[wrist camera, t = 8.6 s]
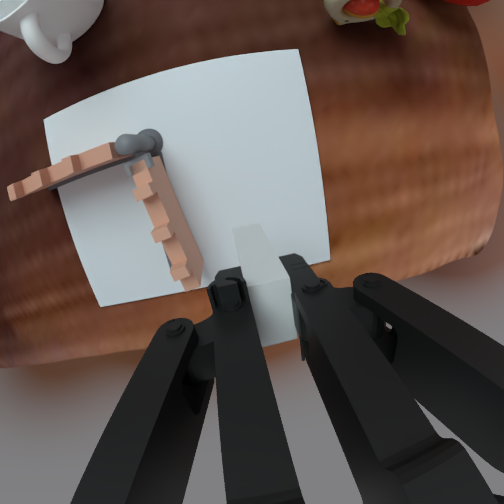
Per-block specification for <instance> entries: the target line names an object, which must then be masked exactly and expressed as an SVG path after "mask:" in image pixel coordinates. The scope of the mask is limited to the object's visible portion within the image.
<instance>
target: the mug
mask: <svg viewBox="0 0 504 504" xmlns="http://www.w3.org/2000/svg"><path fill="white" fill-rule="evenodd" d="M103 4H104V0H0V31H2V32H5V33H8V34H10V35H13V36H16V37H18V38H21V39H24V40H25V42H26V43H27V45H28V46H29V48H30V49H31V50H32V51H33V52H34V53H35V54H36V55H37V56H38V57H40V58H41V59H43V60H44V61H46V62H49V63H52V64H59V63H62V62H64V61H65V60H67V59H68V57H69V56H70V54H71V51H72V42H73V41H75V40H76V39H78V38H79V37H80V36H82V35H83V34H84V33H85V32H86V31H87V30H88V29H89V28H90V27H91V26H92V25H93V23H94V22H95V21H96V19H97V18H98V16H99V14H100V12H101V10H102V7H103Z"/></svg>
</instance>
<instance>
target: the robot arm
mask: <svg viewBox="0 0 504 504" xmlns="http://www.w3.org/2000/svg"><path fill="white" fill-rule="evenodd" d="M232 230H233V235H234V240H235V244H236V249H237V254H238V258H239V263H240V266H238V267H233V268H229V269H224V270H220V271H218V273H217V274H216V276H215V280H214V281H213V282H211V283H210V284H209V285H208V287H207V293H208V296H209V299H210V303H211V306H212V309H213V314H212V315H211V316H210V317H209V318H207V319H206V320H204V321H202V322H200V323H197V324H195V325H194V324H193V322H192V321H191V320H189V319H187V318H177V319H172V320H169V321H167V322H166V323H164V324H163V325H161V326H160V328H159V329H158V330H157V332H156V334H155V335H154V337H153V339H152V341H151V342H150V344H149V346H148V348H147V350H146V352H145V353H144V355H143V357H142V359H141V361H140V363H139V364H138V366H137V368H136V370H135V372H134V374H133V376H132V377H131V379H130V381H129V383H128V385H127V387H126V389H125V391H124V393H123V394H122V396H121V398H120V400H119V402H118V404H117V406H116V408H115V410H114V412H113V414H112V416H111V418H110V420H109V422H108V424H107V426H106V428H105V430H104V432H103V434H102V436H101V438H100V440H99V442H98V444H97V446H96V448H95V450H94V453H93V455H92V457H91V459H90V461H89V463H88V466H87V467H86V470H85V472H84V474H83V476H82V478H81V481H80V483H79V485H78V487H77V490H76V492H75V494H74V496H73V499H72V501H71V504H182V503H183V499H184V495H185V491H186V487H187V484H188V480H189V476H190V472H191V468H192V464H193V460H194V457H195V453H196V449H197V446H198V441H199V438H200V434H201V430H202V427H203V423H204V419H205V415H206V411H207V408H208V404H209V400H210V396H211V392H212V389H213V385H214V377H216V389H217V403H218V417H219V429H220V441H221V453H222V463H223V473H224V482H225V491H226V500H227V504H305V502H304V500H303V497H302V493H301V490H300V487H299V483H298V479H297V476H296V472H295V469H294V465H293V461H292V458H291V454H290V450H289V447H288V443H287V440H286V436H285V432H284V428H283V425H282V421H281V417H280V414H279V410H278V406H277V402H276V398H275V395H274V391H273V387H272V384H271V380H270V376H269V372H268V368H267V364H266V360H265V357H264V353H263V349H262V347H264V346H269V345H273V344H277V343H281V342H285V341H289V340H293V339H296V338H297V332H298V334H299V337H300V346H301V356H302V361H304V360H305V358H306V361H307V364H308V366H309V368H310V371H311V373H312V376H313V378H314V381H315V383H316V385H317V388H318V390H319V393H320V395H321V398H322V400H323V403H324V405H325V407H326V410H327V412H328V415H329V417H330V419H331V422H332V425H333V427H334V429H335V432H336V434H337V437H338V439H339V442H340V444H341V447H342V449H343V452H344V454H345V457H346V459H347V462H348V464H349V467H350V469H351V472H352V474H353V477H354V479H355V482H356V484H357V487H358V489H359V492H360V494H361V497H362V500H363V504H504V496H500V495H496V494H493V493H492V492H491V490H490V488H489V486H488V485H487V483H486V481H485V480H484V478H483V476H482V475H481V473H480V472H479V470H478V468H477V467H476V465H475V463H474V462H473V460H472V459H471V457H470V456H469V454H468V453H467V451H466V449H465V448H464V447H463V446H462V445H461V444H460V442H458V441H457V440H455V439H453V438H442V437H440V436H439V435H438V434H437V433H436V431H435V430H434V428H433V426H432V425H431V423H430V422H429V420H428V419H427V417H426V416H425V414H424V413H423V411H422V410H421V408H420V407H419V405H418V404H417V402H416V401H415V399H416V400H417V401H418V402H419V403H420V404H421V405H422V406H424V407H425V408H426V409H427V410H428V411H429V412H430V413H431V414H433V415H434V416H435V417H436V418H437V419H438V420H439V421H441V422H442V423H443V424H444V425H445V426H446V427H447V428H449V429H450V430H451V431H452V432H453V433H454V434H455V435H457V436H458V437H459V438H460V439H461V440H462V441H463V442H464V443H466V444H467V445H468V446H469V447H470V448H471V449H472V450H474V451H475V452H476V453H477V454H478V455H479V456H480V457H482V458H483V459H484V460H485V461H486V462H488V463H489V464H490V465H491V466H493V467H494V468H495V469H497V470H499V471H501V472H503V473H504V346H503V345H501V344H500V343H498V342H497V341H495V340H493V339H492V338H490V337H489V336H487V335H485V334H484V333H482V332H480V331H479V330H477V329H476V328H474V327H472V326H471V325H469V324H468V323H466V322H464V321H463V320H461V319H459V318H457V317H456V316H454V315H452V314H451V313H449V312H447V311H446V310H444V309H442V308H441V307H439V306H437V305H435V304H434V303H432V302H430V301H429V300H427V299H425V298H423V297H421V296H420V295H418V294H416V293H415V292H413V291H411V290H409V289H407V288H406V287H404V286H402V285H400V284H398V283H397V282H395V281H393V280H391V279H389V278H388V277H386V276H384V275H381V274H378V273H365V274H362V275H359V276H358V277H356V278H355V279H354V281H353V287H346V288H334V287H333V286H332V285H331V283H330V282H329V281H327V280H326V279H323V278H318V277H317V276H316V274H315V273H314V272H313V270H312V269H311V268H310V267H309V265H308V264H307V262H306V261H305V260H304V258H303V257H302V256H300V255H298V254H296V253H293V254H288V255H284V256H279V257H278V255H277V254H276V252H275V250H274V248H273V246H272V245H271V243H270V241H269V239H268V237H267V236H266V234H265V232H264V230H263V229H262V227H261V225H260V223H256V224H251V225H246V226H242V227H237V228H232ZM386 322H387V323H389V324H390V325H391V326H392V329H389V328H388V327H386ZM296 330H297V331H296Z"/></svg>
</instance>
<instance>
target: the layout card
mask: <svg viewBox="0 0 504 504" xmlns="http://www.w3.org/2000/svg"><path fill="white" fill-rule="evenodd" d="M44 125H45V131H46V137H47V143H48V148H49V153H50V158H51V163H52V165H55V164H57V163H59V162H61V159H63V158H65V157H68V156H70V155H77V154H80V153H82V152H85V151H87V150H90V149H92V148H95V147H98V146H100V145H103V144H106V143H108V142H116V139H117V138H118V137H119V136H120V135H122V134H136V135H149V136H152V137H154V139H155V141H156V146H155V148H154V149H153V150H152V151H150V152H143V153H136V154H134V155H132V156H129V157H126V158H123V159H120V160H117V161H114V162H111V163H108V164H105V165H103V166H100V167H97V168H94V169H92V170H89V171H86V172H84V173H81V174H79V175H76V176H73V177H71V178H68V179H66V180H64V181H61V182H59V183H56V184H54V185H52V186H50V187H49V191H50V190H53V189H55V188H58V192H59V195H60V199H61V203H62V206H63V210H64V213H65V216H66V219H67V223H68V226H69V229H70V232H71V235H72V238H73V241H74V243H75V246H76V249H77V252H78V254H79V257H80V260H81V262H82V265H83V267H84V270H85V273H86V275H87V277H88V280H89V282H90V285H91V287H92V289H93V292H94V294H95V296H96V298H97V301H98V303H99V305H100V307H103V306H109V305H114V304H120V303H125V302H131V301H136V300H142V299H147V298H152V297H158V296H163V295H168V294H173V293H178V292H183V291H185V289H184V287H183V285H182V283H181V282H180V280H178V281H175V282H174V280H173V278H172V276H171V274H170V269H171V266H172V263H171V261H170V259H169V257H168V255H167V253H166V251H165V249H164V247H163V245H162V243H161V242H158V243H155V241H154V239H153V237H152V235H151V232H152V230H153V229H154V225H153V223H152V221H151V219H150V216H149V214H148V212H147V210H146V207H145V205H144V203H143V200H141V201H139V202H137V201H136V199H135V197H134V194H133V192H132V191H133V190H135V189H136V188H137V186H136V184H135V181H134V179H133V176H132V177H129V178H128V175H127V173H126V170H125V168H124V165H123V164H125V163H127V162H129V161H131V160H133V159H135V158H138V157H140V156H142V155H144V154H146V153H150V154H151V157H156V156H160V158H161V161H162V163H163V166H164V168H165V171H166V173H167V176H168V178H169V181H170V183H171V185H172V188H173V190H174V193H175V195H176V198H177V200H178V202H179V205H180V207H181V210H182V212H183V214H184V217H185V219H186V221H187V224H188V226H189V228H190V231H191V233H192V235H193V237H194V240H195V242H196V244H197V247H198V249H199V251H200V253H201V256H202V258H203V260H204V262H203V270H202V278H201V286H200V287H199V288H203V287H208V285H209V284H210V283H211V282H213V281H214V280H215V276H216V274H217V273H218V271H220V270H224V269H229V268H233V267H238V266H240V263H239V258H238V254H237V249H236V244H235V240H234V235H233V230H232V228H237V227H242V226H246V225H251V224H256V223H260V225H261V227H262V229H263V230H264V232H265V234H266V236H267V237H268V239H269V241H270V243H271V245H272V246H273V248H274V250H275V252H276V254H277V255H278V257H279V256H284V255H288V254H293V253H296V254H298V255H300V256H302V257H303V258H304V260H305V261H306V262H307V264H308V265H310V264H315V263H319V262H324V261H328V260H330V249H329V237H328V227H327V217H326V208H325V199H324V191H323V183H322V175H321V168H320V161H319V154H318V148H317V142H316V136H315V130H314V124H313V118H312V113H311V107H310V102H309V97H308V92H307V87H306V82H305V77H304V73H303V68H302V64H301V59H300V55H299V51H298V49H292V50H278V51H267V52H258V53H250V54H243V55H236V56H230V57H224V58H218V59H213V60H208V61H203V62H199V63H194V64H190V65H186V66H181V67H178V68H174V69H170V70H166V71H163V72H159V73H156V74H152V75H149V76H146V77H143V78H140V79H137V80H134V81H131V82H128V83H125V84H122V85H120V86H117V87H114V88H112V89H109V90H106V91H104V92H101V93H99V94H97V95H94V96H92V97H89V98H87V99H85V100H83V101H80V102H78V103H76V104H74V105H72V106H70V107H68V108H65V109H63V110H61V111H59V112H57V113H56V114H54V115H52V116H50V117H48V118H46V119H44ZM196 289H198V288H196Z"/></svg>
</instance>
